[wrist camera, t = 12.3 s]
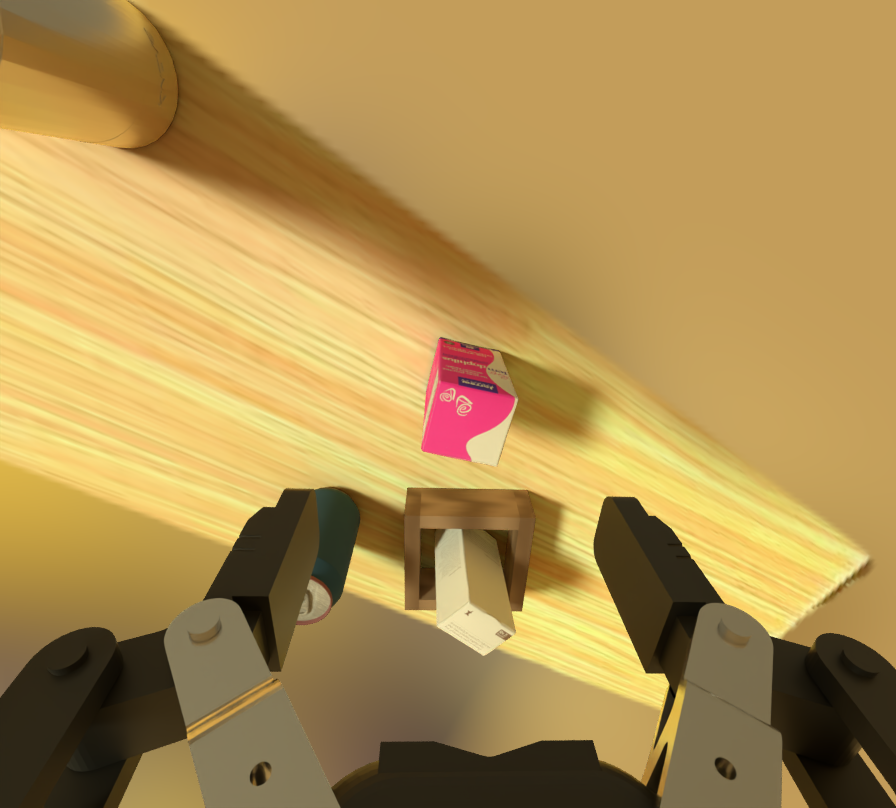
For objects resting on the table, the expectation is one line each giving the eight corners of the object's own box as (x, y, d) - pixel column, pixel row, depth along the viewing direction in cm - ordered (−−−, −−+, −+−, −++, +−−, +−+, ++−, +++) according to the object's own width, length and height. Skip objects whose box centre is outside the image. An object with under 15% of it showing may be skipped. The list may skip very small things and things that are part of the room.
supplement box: (501, 347, 40) (522, 399, 30) (483, 405, 43) (497, 472, 32) (439, 333, 40) (438, 381, 29) (424, 392, 42) (419, 456, 32)
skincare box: (432, 532, 49) (430, 628, 38) (461, 507, 48) (467, 600, 37) (472, 560, 51) (481, 660, 40) (500, 538, 50) (517, 635, 39)
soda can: (296, 478, 46) (251, 565, 35) (364, 485, 46) (340, 573, 36) (296, 531, 49) (255, 627, 38) (360, 537, 49) (337, 633, 38)
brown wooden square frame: (407, 577, 52) (404, 609, 48) (407, 487, 47) (404, 515, 42) (515, 578, 52) (521, 611, 48) (527, 490, 47) (535, 518, 43)
